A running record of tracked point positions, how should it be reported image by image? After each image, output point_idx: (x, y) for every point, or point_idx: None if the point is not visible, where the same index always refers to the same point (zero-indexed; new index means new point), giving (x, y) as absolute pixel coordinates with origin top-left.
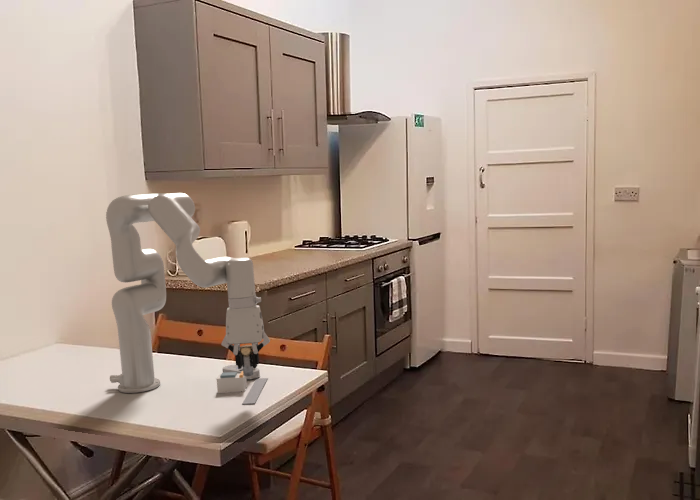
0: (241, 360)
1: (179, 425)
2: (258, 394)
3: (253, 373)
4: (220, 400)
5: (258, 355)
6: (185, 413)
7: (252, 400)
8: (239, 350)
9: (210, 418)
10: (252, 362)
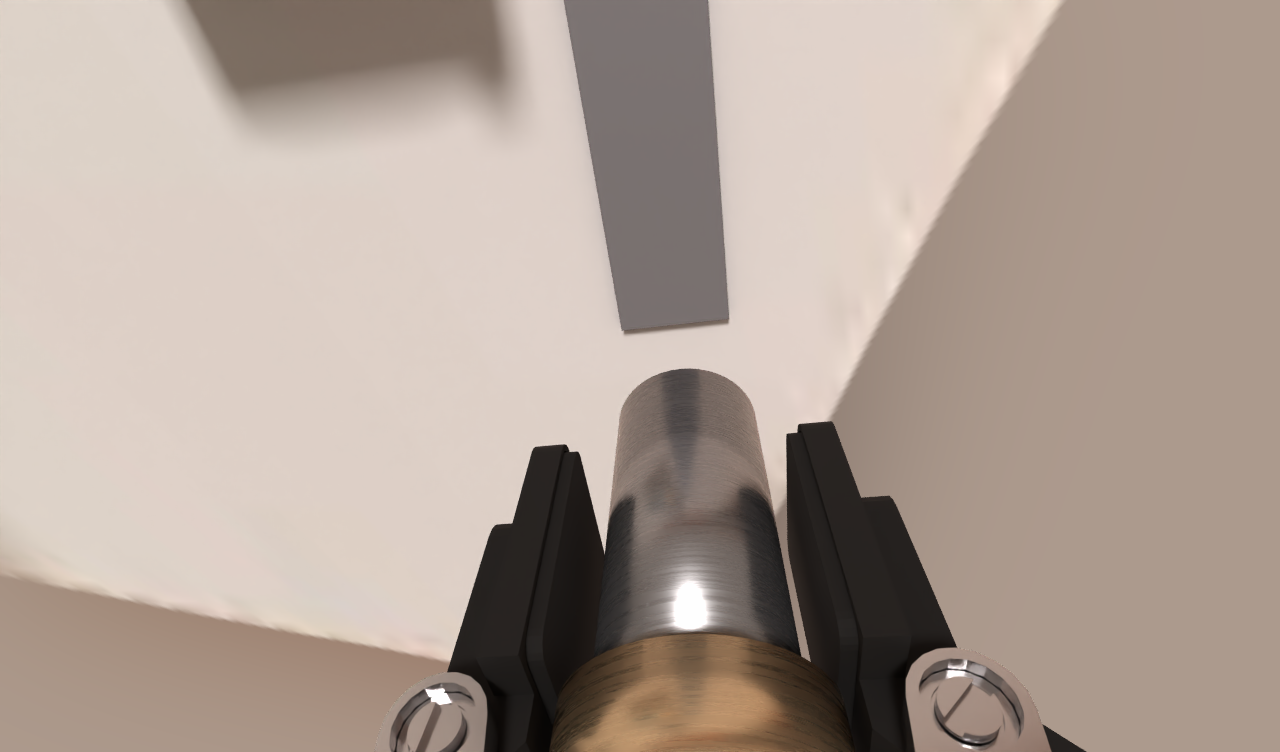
0: (576, 575)
1: (385, 616)
2: (704, 57)
3: (756, 422)
4: (362, 211)
5: (937, 605)
6: (280, 475)
7: (690, 253)
8: (490, 735)
9: None
10: (780, 548)
